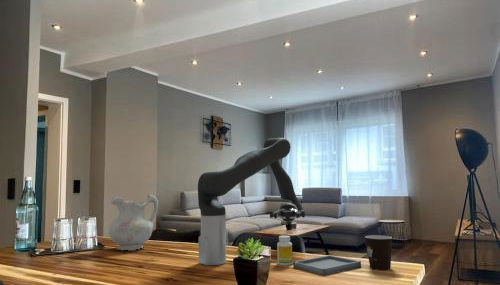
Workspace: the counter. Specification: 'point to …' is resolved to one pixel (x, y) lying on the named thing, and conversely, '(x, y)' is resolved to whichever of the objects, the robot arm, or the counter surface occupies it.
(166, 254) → the counter surface
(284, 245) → the supplement bottle
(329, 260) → the tray
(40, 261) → the counter surface
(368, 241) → the coffee mug
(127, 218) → the ceramic pitcher
